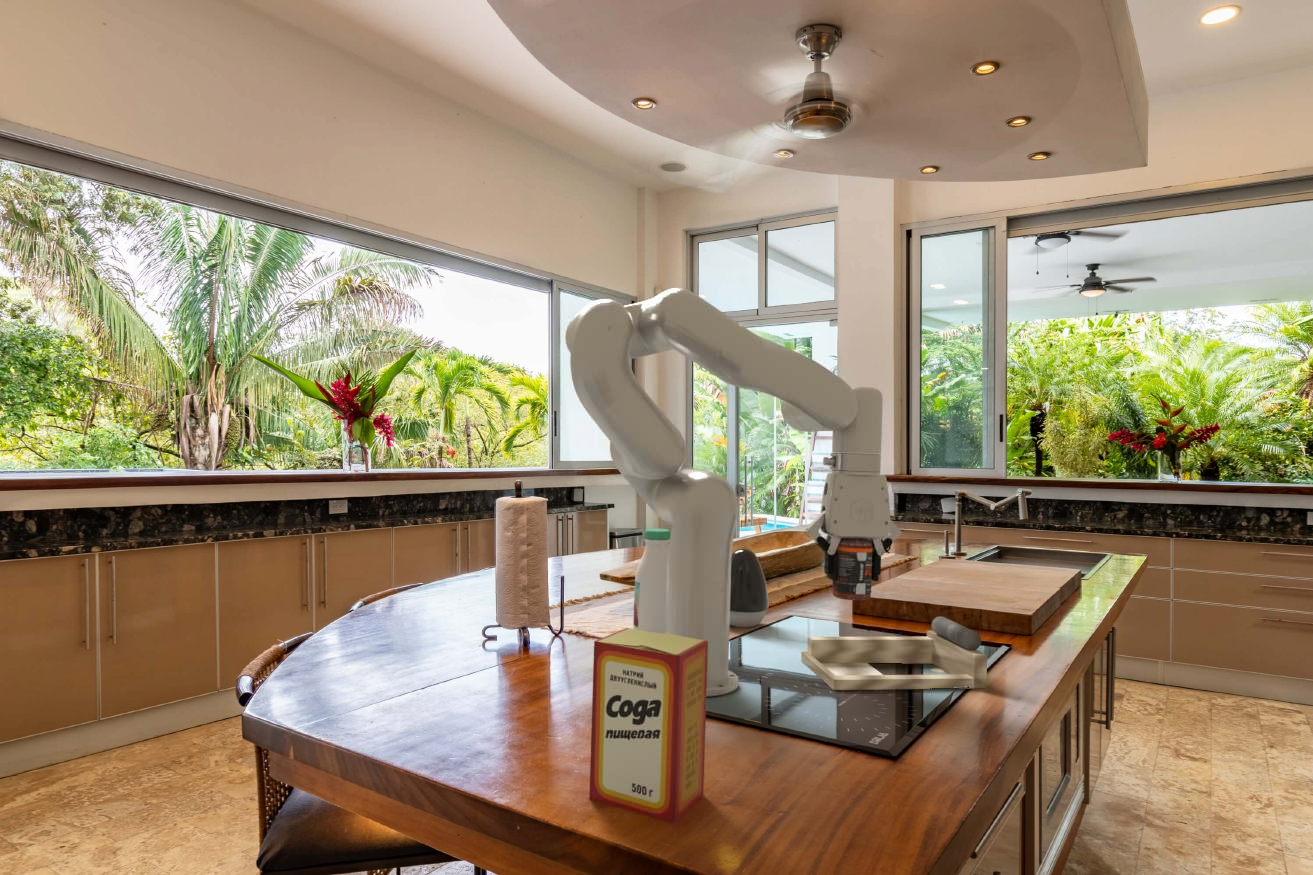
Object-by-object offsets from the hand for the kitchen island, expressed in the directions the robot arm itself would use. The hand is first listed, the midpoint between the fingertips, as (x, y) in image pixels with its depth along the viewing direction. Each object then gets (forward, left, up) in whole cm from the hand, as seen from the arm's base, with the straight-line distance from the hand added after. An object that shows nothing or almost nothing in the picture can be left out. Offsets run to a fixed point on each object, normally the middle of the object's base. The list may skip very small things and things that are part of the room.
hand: (852, 578), depth 120 cm
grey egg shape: (-9, +33, -15) cm, 38 cm away
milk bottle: (-28, +21, -15) cm, 38 cm away
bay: (+7, 0, -15) cm, 16 cm away
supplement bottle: (0, 0, -3) cm, 3 cm away
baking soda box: (-37, -39, -15) cm, 56 cm away
